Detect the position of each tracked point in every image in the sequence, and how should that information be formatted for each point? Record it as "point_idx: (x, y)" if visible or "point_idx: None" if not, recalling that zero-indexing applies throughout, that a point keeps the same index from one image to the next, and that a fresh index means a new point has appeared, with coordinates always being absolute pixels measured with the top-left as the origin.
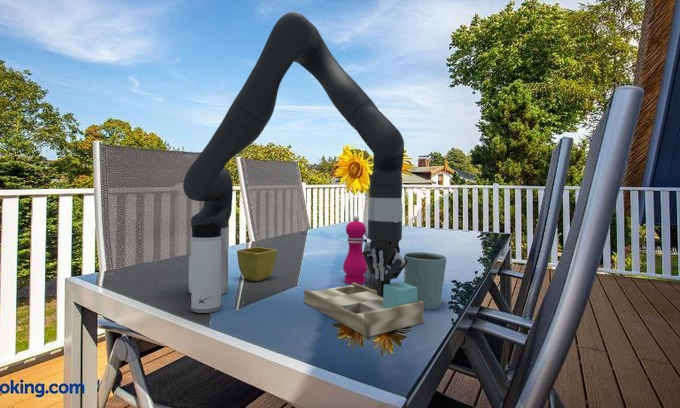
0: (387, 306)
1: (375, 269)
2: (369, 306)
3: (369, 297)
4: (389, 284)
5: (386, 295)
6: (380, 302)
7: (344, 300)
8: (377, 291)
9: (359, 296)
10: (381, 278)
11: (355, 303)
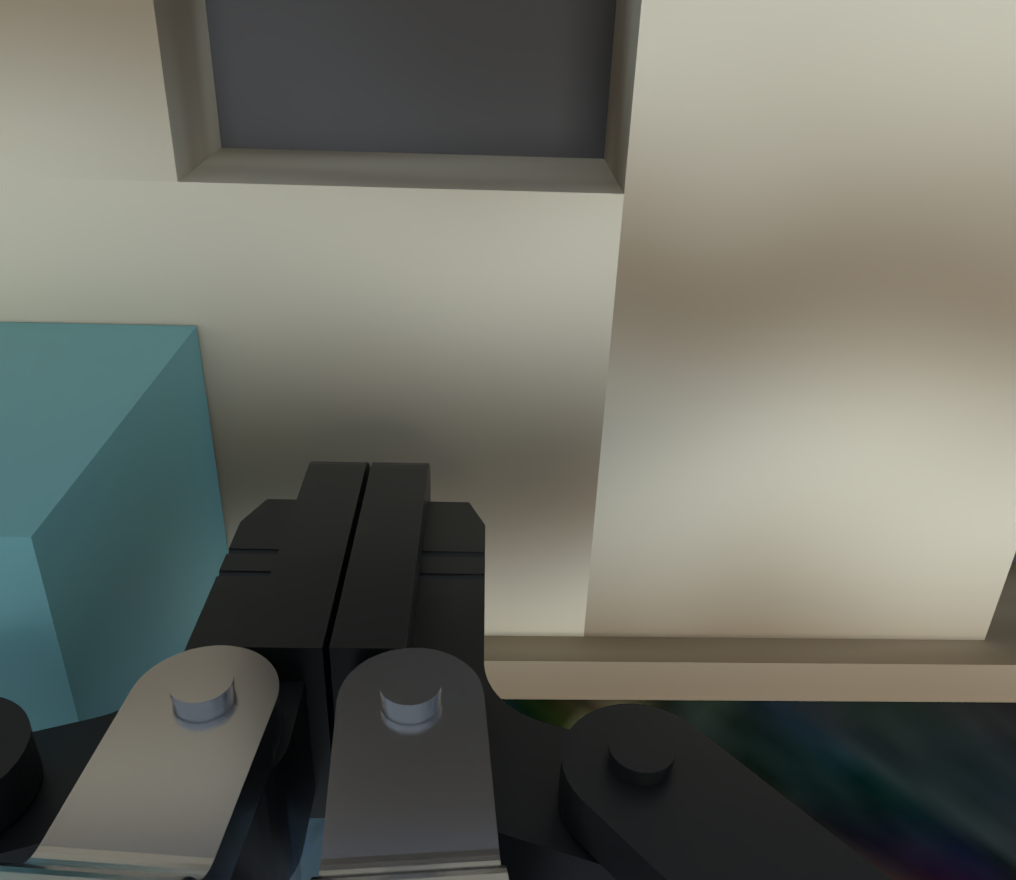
0: (64, 343)
1: (474, 850)
2: (374, 198)
3: (739, 486)
4: (16, 652)
5: (22, 427)
6: (452, 468)
7: (906, 18)
8: (412, 493)
9: (884, 394)
10: (197, 677)
11: (637, 87)
